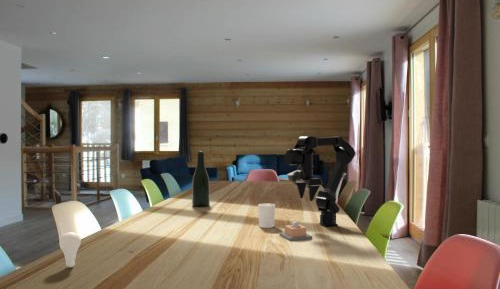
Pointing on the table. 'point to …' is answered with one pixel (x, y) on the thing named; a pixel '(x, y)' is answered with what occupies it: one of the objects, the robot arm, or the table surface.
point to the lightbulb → (70, 247)
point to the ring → (295, 231)
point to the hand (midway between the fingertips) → (306, 199)
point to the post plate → (296, 225)
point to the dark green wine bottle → (200, 184)
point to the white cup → (266, 215)
